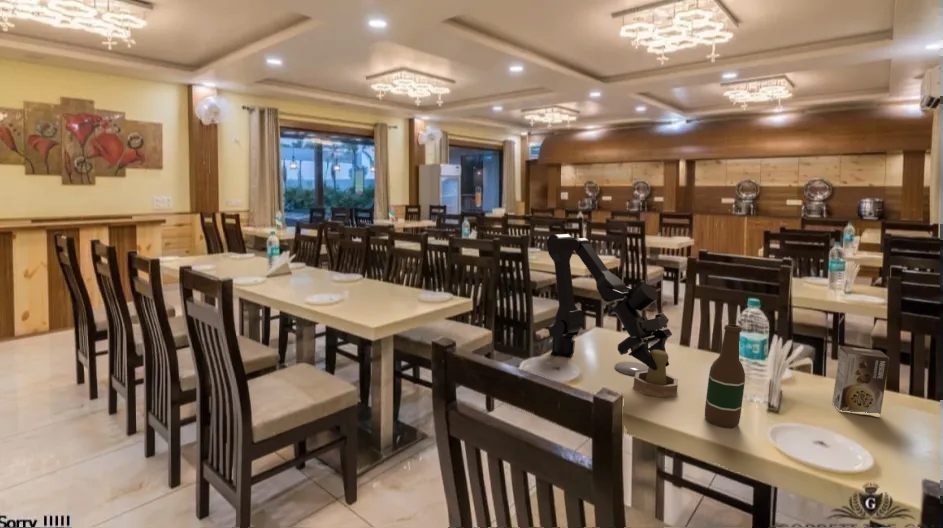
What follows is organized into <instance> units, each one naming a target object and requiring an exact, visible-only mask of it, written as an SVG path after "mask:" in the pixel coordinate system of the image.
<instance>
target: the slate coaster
mask: <svg viewBox="0 0 943 528" xmlns="http://www.w3.org/2000/svg"><path fill="white" fill-rule="evenodd" d="M614 368H615V370H616V371H617V372H619V373H620V374H624V375H627V376H633V377H635V374H636V372H643V371H648V368H649V367H648V366H647V365H645V364H644V363H642V362H641V363H639V362H636V361H619V362H617V363H615V365H614Z"/></svg>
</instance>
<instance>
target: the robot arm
mask: <svg viewBox="0 0 943 528" xmlns="http://www.w3.org/2000/svg"><path fill="white" fill-rule="evenodd" d="M546 248H547V252H548V255H549V257H550V258H551V260H552V261H553V264H554V271H555V280H556V289H557V299H558V309H557V311H556V314H555V323H554V324H553V325H551V327H549V328H548V334H549V336H550V337H552V343H551V344H552V346H551V348H552V349H551V352H550V355H551V356H557V357H564V358H569V359H570V358H571V357H572V355H574V353H575V348H576V340H574V338H575V336H578V335H579V332H580V331H581V329H582V328H583V325H584V322H585V321H584V317H583V310H582V309H578V307H577V306H576V304H575V297H574V288H573V287H574V286H573V281H572V280H573V278H572V270H571V258H572V256H573V253H574V252H575V253H576V255H577V256H578V257H579V259H580V260H581V262H582V263H583V264H584V265H585V267H586V269H587V270H588V272H589V273H590V274H591V276H592V277H593V278H594V280H595V283H596V290H597V292H598V294H599V296H600V298H601V300H602V301H603V302H607V303H612V302H613V303H614V302H617V303H615V304H610V305H609V308H608V312H607V314H608V315H616V316H617V318H618V319H619V321H620V323H621V324H622V326H623V327H622V328H621V330H622V332H626V333H627V334H628V335H629V336H627V337H626V338H625V339H624V340H622V341H621V342H620V343H618V344H617V351H618V352H619V354H620V355H621V356H623V355H626V354H628V356H629V357H630V356H631V357H633V358H635V359H636V360H637V361H640V362H641V364H644V365H647V366H648V367H650V368H651V369H653V370H654V371H655V370H657V369H658V368H657V366H656V364H655V362H654V360H653V358H652V356H651V354H650V351H652V350H662V351H665V352H666V351H667V349H666V342H667V340H668V339H669V338H670V337H671V336H673V332H672V331H671V330H670V328H668V324H669V320H670V319H669V318H668V317H667V316H666V315H665V313H664V312H661V313H657V314H655V315H654V318H650V319H648V317H647V316H645V315H644V316H642V315H641V313H640V312H641V311H642V312H643V311H644V310H646V309H647V308H648V307H650V306H651V305H652V304H653V303H654V302H656V301H657V300H658V299H659V294H658V292H657V290H656V288H654V287H653V286H651V285H650V284H649V283H646V281H645V280H640V281H638V282H636V284H635V285H634V286H633V287H629V286H627V285H626V283H625V282H624V281H622V279H620V278H619V277H618V276H616V274H614V273H612V272H611V271H610V270H609V268H608V267H607V266H606V265H605V263H604V261H602V259H601V258H600V256H599V255H598V254H597V252H596V251H595V249H594V248H593V247H592V245H591V243H590V241H589V239H587V238H586V237H581V238H580V237H572V236H571V235H570V234H568V233H562V234H560V233H559V234H551V235H549V236H548V238H547V240H546ZM624 299H625V300H624ZM629 350H630V352H629ZM666 353H667V352H666ZM669 366H670V363H669V361H668V362H667V363H666V368H667V367H669Z"/></svg>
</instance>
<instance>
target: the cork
mask: <svg viewBox="0 0 943 528" xmlns="http://www.w3.org/2000/svg"><path fill="white" fill-rule="evenodd" d="M649 352H650V354H651V356H652V358H653V360H654V362H655V364H656V366H657V368H658V369H657V370H655V371H654V370H653V369H651V368H650V367H649V368H648V372H647V376H646V380H645V382H647V383H651V384H657V385H666V374H667V367H666V363H667V362H669V354H668V353H667V352H665V351H662V350H652V351H649Z"/></svg>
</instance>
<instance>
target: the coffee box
mask: <svg viewBox="0 0 943 528" xmlns="http://www.w3.org/2000/svg"><path fill="white" fill-rule="evenodd" d="M889 363H890V357H889V356H888V355H886V354H885V353H884V352H883V351H882V350H879V349H871V348H861V347H860V348H859V347H851V346H842V345H841V346H840V348H839V355H838V361H837V366H836V367H837V368H836V375H835V381H834V387H833V388H834V389H833V394H832V400H831V401H832V402H833V403H834V405H835V406H836V407H837V408H838V409H839V410H842V411H850V412H865V413H866V412H867V413H879V414H881V413H882V408H883V407H882V406H883V401H884V393H885V387H886V381H887V377H888V376H887V374H888V369H889ZM832 402H831V403H832ZM834 405H833V406H834ZM835 406H834V407H835ZM836 407H835V408H836Z"/></svg>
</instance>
